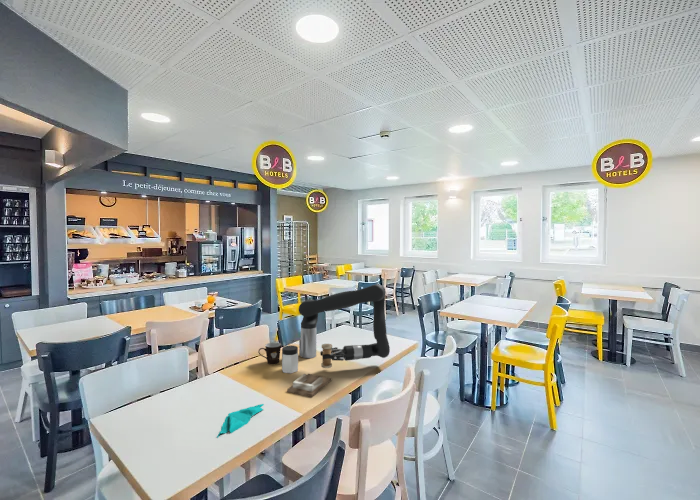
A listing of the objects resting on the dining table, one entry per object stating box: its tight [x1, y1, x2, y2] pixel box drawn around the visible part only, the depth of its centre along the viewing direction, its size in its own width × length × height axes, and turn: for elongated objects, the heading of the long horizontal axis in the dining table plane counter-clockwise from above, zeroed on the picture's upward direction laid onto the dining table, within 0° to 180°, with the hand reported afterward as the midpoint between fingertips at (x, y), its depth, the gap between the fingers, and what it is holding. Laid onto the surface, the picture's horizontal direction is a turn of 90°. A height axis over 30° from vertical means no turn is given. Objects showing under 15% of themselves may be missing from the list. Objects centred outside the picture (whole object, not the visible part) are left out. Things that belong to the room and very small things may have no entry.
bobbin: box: [320, 343, 333, 369], centre depth 176 cm, size 6×6×11 cm
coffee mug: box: [258, 342, 282, 365], centre depth 189 cm, size 12×9×10 cm
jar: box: [281, 344, 299, 374], centre depth 178 cm, size 9×8×12 cm
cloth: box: [216, 403, 265, 439], centre depth 131 cm, size 26×14×2 cm, turn 145°
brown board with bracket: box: [286, 373, 332, 398], centre depth 160 cm, size 13×19×4 cm
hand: (321, 355), depth 175 cm, fingers closed on bobbin, 4 cm apart
